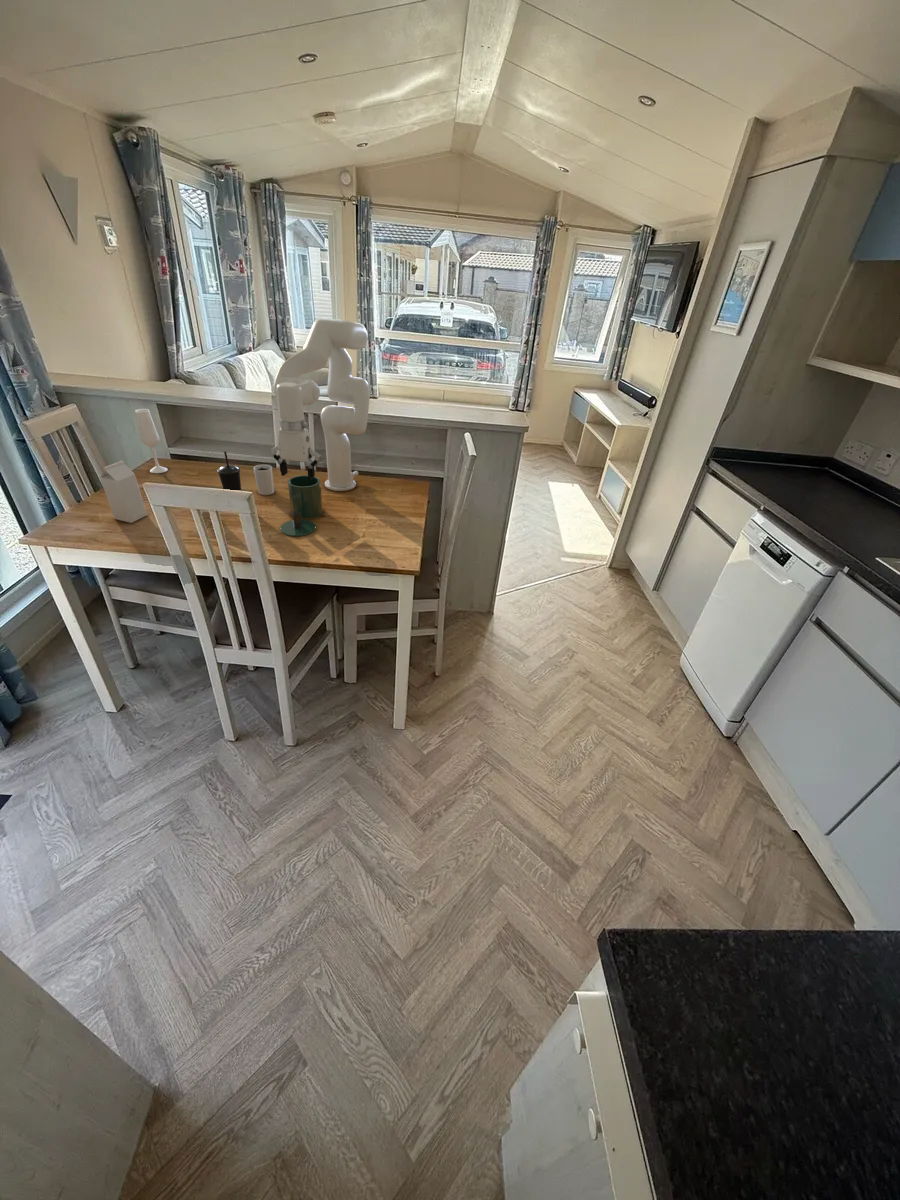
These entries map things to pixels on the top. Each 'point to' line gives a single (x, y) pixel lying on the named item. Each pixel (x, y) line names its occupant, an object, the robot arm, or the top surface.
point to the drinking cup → (229, 476)
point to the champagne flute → (149, 435)
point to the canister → (305, 496)
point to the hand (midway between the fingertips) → (297, 476)
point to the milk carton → (123, 492)
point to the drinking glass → (264, 479)
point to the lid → (297, 526)
